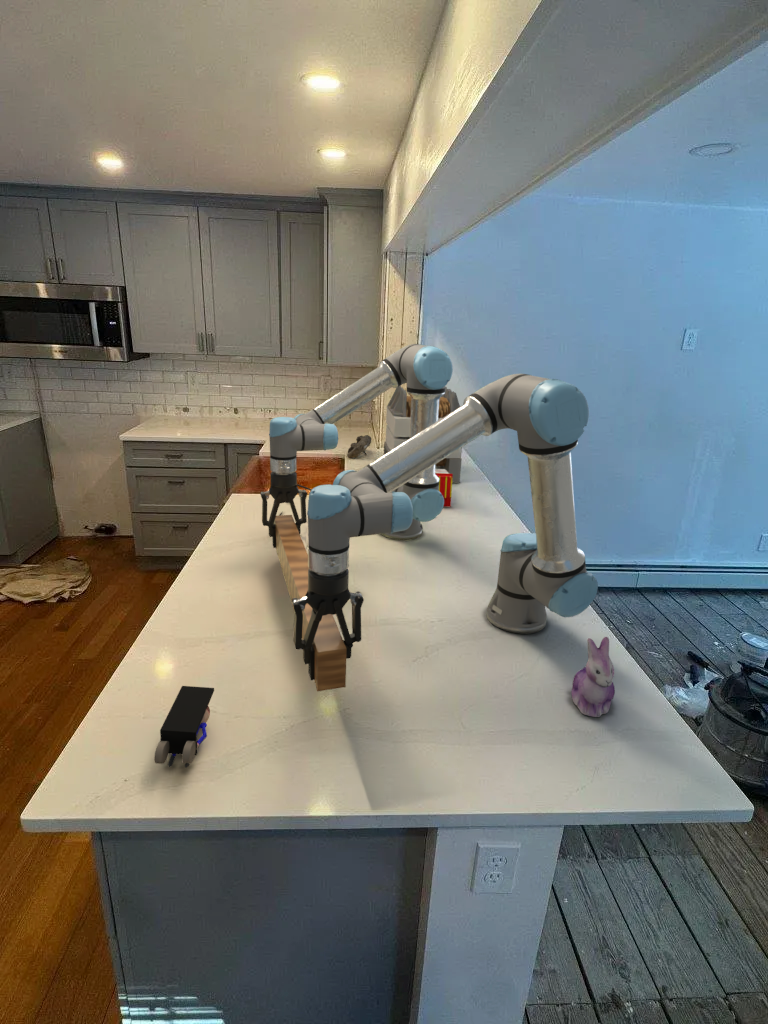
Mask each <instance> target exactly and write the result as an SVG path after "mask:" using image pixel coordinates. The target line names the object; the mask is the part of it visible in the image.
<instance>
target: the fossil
mask: <svg viewBox="0 0 768 1024" xmlns="http://www.w3.org/2000/svg"><path fill="white" fill-rule="evenodd" d="M355 441H356V442H352V443H350V446H349V448H348V449H347V457H348V458H349V459H355V458H357V457H359V456H360V455H361V454H362V453H364V455H367V453H366V450H367V448H368V447H370V446H371V444H372V437H371V435H369V434H366V435H359V436H357V437H356V440H355Z"/></svg>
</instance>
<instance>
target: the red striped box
mask: <svg viewBox="0 0 768 1024" xmlns="http://www.w3.org/2000/svg"><path fill="white" fill-rule="evenodd" d="M435 474H436V475H437V476H438V478H439V491H440V493H441V494H442V496H443V498H444V506H443V508H444V507H446V508H447V507H448V508H450V507H451V506H452V495H453V493H452V492H453V483H452V478H453V477H452V475H453V474H449V473H448V472H447V471H446V470H445V469H438V468H435Z"/></svg>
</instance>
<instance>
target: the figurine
mask: <svg viewBox="0 0 768 1024" xmlns="http://www.w3.org/2000/svg"><path fill="white" fill-rule="evenodd" d="M586 641H587V643H586V644H587V659H588V660H587V662H586V664H585V666H584V667H583V668H580V669H579V670H578V671H576V673H575V674H574V675H573V679H572V686H571V691H570V692H571V699H572V702H573V704H574V705H575V706H576V707H577V708H578V710H579V711H580V713H581V714H583V715H584V716H589V717H594V718H600V717H601V716H602V715H605V714H607V713H608V712H609V711H610V708H611V704H612V702H613V699H614V697H615V693H616V690H615V689H616V688H615V684H614V682H613V681H614V680H613V679H614V677H615V667H614V664H613V662H612V659H611V658H610V654H609V653H610V638H609V637H608V636H604V637H603V638H602V640H601V642H600V645H599V647H598V646H597V644H596V643H595V641H594V640H593V639H592V637H591V638H590V637H588V638H587V640H586Z"/></svg>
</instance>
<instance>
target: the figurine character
mask: <svg viewBox="0 0 768 1024" xmlns="http://www.w3.org/2000/svg"><path fill="white" fill-rule="evenodd" d="M214 692H215V687H206V686H194V685H193V686H189V685H182V686H181V687H180V689H179V691H178V693H177V695H176V697H175V698H174V701H173V704H172V705H171V707H170V709H169V712H168V714H167V716H166V718H165V719H164V721H163V723H162V726H161V728H160V729H159V733H160V740H159V742H158V743H157V745H156V748H155V751H154V757H153V758H154V763H155V764H160V765H165V763H166V762H167V759H168V757H169V755H170V757H169V759H168V762H167V767H168V768H171V767H173V765H174V762H175V759H176V757H177V755H181V762H182V764H184V767H185V768H188V767H189V766H190V764H192V763H193V762H194V760H195V756H197V755H198V748H199V746H200V744H202V742H203V741H204V740H205V739H206V738H207V737H208V734H207V729H206V728H207V727H208V723H207V722H208V721H209V719H210V716H211V710H210V707H209V705H210V702H211V700H212V697H213V694H214ZM200 729H201V732H202V735H201V736H200V737H199V738H198V735H199V731H200Z"/></svg>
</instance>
